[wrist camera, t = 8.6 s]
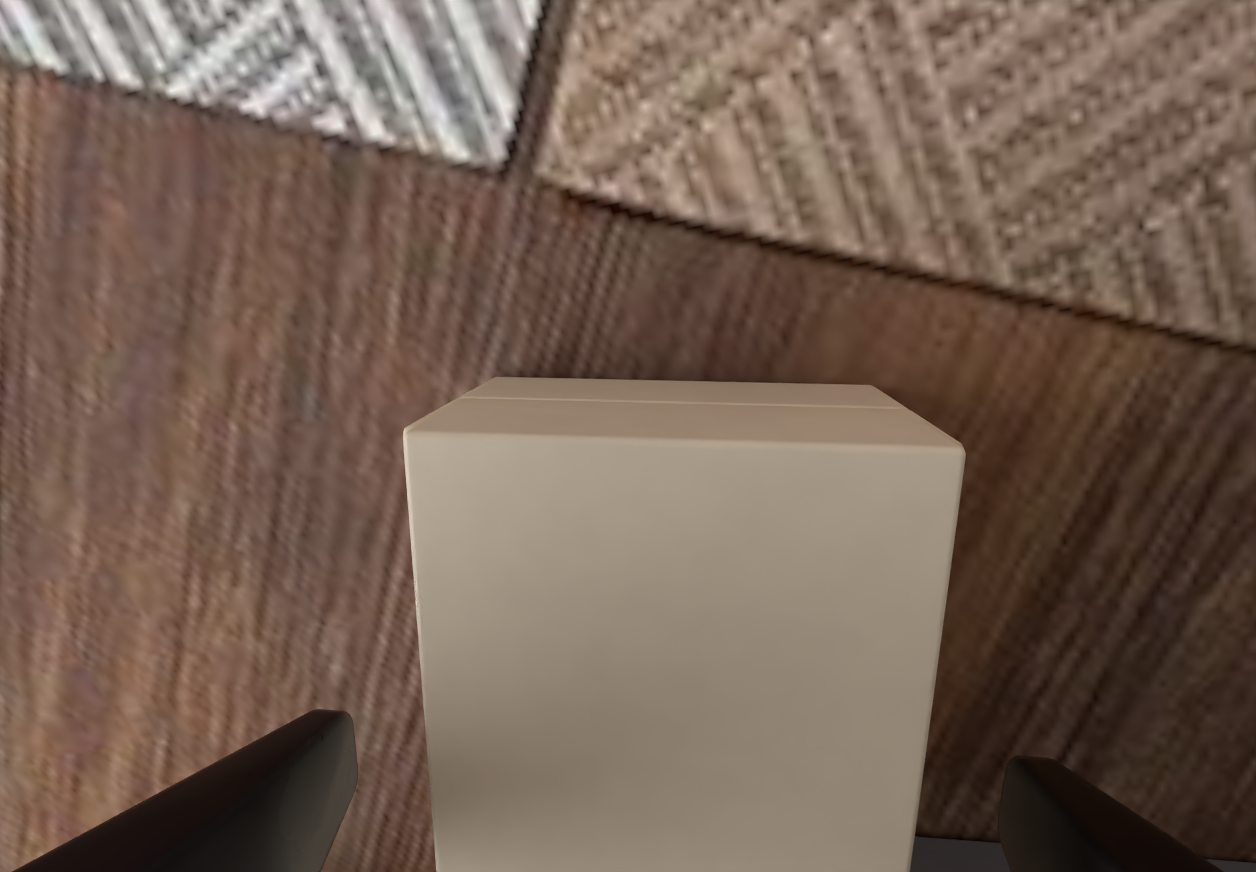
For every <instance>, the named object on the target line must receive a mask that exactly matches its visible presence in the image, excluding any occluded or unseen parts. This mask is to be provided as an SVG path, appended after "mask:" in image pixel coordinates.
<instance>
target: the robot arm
mask: <svg viewBox="0 0 1256 872" xmlns="http://www.w3.org/2000/svg"><path fill="white" fill-rule="evenodd" d="M357 779H358V764H357V754H356V745H355V736H354V726H353V721H352V718H351V716H350V715H349V714H348V713H347V712H345V711H337V710H323V709H317V710H312V711H310V712H308V713H306V714H305V715H303V716H301V717H299V718H297V719H295V720H293V721H292V722H290V723H288V724H286V725H284V726H282V727H280V728H278V729H277V730H275V731H273V732H271V733H269V734H267V735H265V736H264V737H262V738H260V739H258V740H256V741H254V742H252V743H251V744H249V745H247V746H245V747H243V748H241V749H239V750H238V751H236V752H234V753H232V754H230V755H228V756H226V757H225V758H223V759H221V760H219V761H217V762H215V763H213V764H212V765H210V766H208V767H206V768H204V769H202V770H200V771H199V772H197V773H195V774H193V775H191V776H189V777H187V778H186V779H184V780H182V781H180V782H178V783H176V784H174V785H172V786H171V787H169V788H167V789H165V790H163V791H161V792H159V793H158V794H156V795H154V796H152V797H150V798H148V799H146V800H145V801H143V802H141V803H139V804H137V805H135V806H133V807H132V808H130V809H128V810H126V811H124V812H122V813H120V814H119V815H117V816H115V817H113V818H111V819H109V820H107V821H106V822H104V823H102V824H100V825H98V826H96V827H94V828H93V829H91V830H89V831H87V832H85V833H83V834H81V835H80V836H78V837H76V838H74V839H72V840H70V841H68V842H66V843H65V844H63V845H61V846H59V847H57V848H55V849H53V850H52V851H50V852H48V853H46V854H44V855H42V856H40V857H39V858H37V859H35V860H33V861H31V862H29V863H27V864H26V865H24V866H22V867H20V868H18V869H16V870H14V871H13V872H321V870H322V867H323V865H324V863H325V860H326V858H327V856H328V853H329V851H330V849H331V846H332V844H333V841H334V839H335V837H336V834H337V832H338V830H339V827H340V825H341V823H342V820H343V818H344V816H345V813H346V811H347V809H348V806H349V804H350V801H351V799H352V797H353V794H354V792H355V788H356V785H357ZM997 821H998V834H999V838H1000V842H1001V846H1002V849H1003V851H1004V854H1005V857H1006V860H1007V863H1008V866H1009V869H1010V871H1011V872H1224V871H1222V870H1221V869H1219V868H1218V867H1216V866H1215V865H1213V864H1212V863H1210V862H1209V861H1207V860H1206V859H1204V858H1203V857H1201V856H1200V855H1198V854H1197V853H1195V852H1194V851H1192V850H1191V849H1189V848H1188V847H1186V846H1185V845H1183V844H1182V843H1180V842H1179V841H1177V840H1176V839H1174V838H1172V837H1171V836H1169V835H1168V834H1166V833H1165V832H1163V831H1162V830H1160V829H1159V828H1157V827H1156V826H1154V825H1153V824H1151V823H1150V822H1148V821H1147V820H1145V819H1144V818H1142V817H1141V816H1139V815H1138V814H1136V813H1135V812H1133V811H1132V810H1130V809H1129V808H1127V807H1126V806H1124V805H1122V804H1121V803H1119V802H1118V801H1116V800H1115V799H1113V798H1112V797H1110V796H1109V795H1107V794H1106V793H1104V792H1103V791H1101V790H1100V789H1098V788H1097V787H1095V786H1094V785H1092V784H1091V783H1089V782H1088V781H1086V780H1085V779H1083V778H1082V777H1080V776H1079V775H1077V774H1076V773H1074V772H1072V771H1071V770H1069V769H1068V768H1066V767H1065V766H1063V765H1062V764H1060V763H1059V762H1057V761H1055V760H1053V759H1050V758H1044V757H1029V756H1015V757H1013V758H1011V759H1010V760H1009V762H1008V763H1007V767H1006V770H1005V776H1004V782H1003V788H1002V794H1001V800H1000V806H999V812H998V820H997Z"/></svg>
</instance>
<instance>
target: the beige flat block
mask: <svg viewBox="0 0 1256 872" xmlns="http://www.w3.org/2000/svg"><path fill="white" fill-rule="evenodd" d="M403 445H404V458H405V471H406V484H407V497H408V510H409V523H410V536H411V549H412V562H413V575H414V587H415V600H416V613H417V626H418V639H419V652H420V665H421V678H422V691H423V704H424V717H425V730H426V743H427V756H428V768H429V781H430V794H431V807H432V820H433V833H434V846H435V859H436V872H910V867H911V860H912V852H913V845H914V838H915V830H916V823H917V815H918V808H919V800H920V793H921V785H922V778H923V771H924V763H925V756H926V748H927V741H928V733H929V726H930V719H931V711H932V704H933V696H934V689H935V681H936V674H937V666H938V659H939V652H940V644H941V637H942V629H943V622H944V614H945V607H946V599H947V592H948V585H949V577H950V570H951V562H952V555H953V547H954V540H955V532H956V525H957V518H958V510H959V503H960V495H961V488H962V480H963V473H964V465H965V458H966V453H965V450H964V448H963V447H961V446H960V445H958V444H957V443H955V442H954V441H952V440H951V439H949V438H948V437H946V436H945V435H943V434H942V433H940V432H939V431H937V430H936V429H934V428H933V427H931V426H930V425H928V424H927V423H925V422H924V421H921V420H919V419H899V418H860V417H821V416H782V415H743V414H704V413H665V412H626V411H587V410H548V409H509V408H470V407H449V408H446V409H444V410H442V411H441V412H439V413H437V414H436V415H434V416H432V417H430V418H429V419H427V420H425V421H423V422H422V423H420V424H418V425H416V426H415V427H413V428H411V429H410V430H408V431H406V432H405V434H404V437H403Z"/></svg>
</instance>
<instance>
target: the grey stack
mask: <svg viewBox="0 0 1256 872" xmlns="http://www.w3.org/2000/svg"><path fill="white" fill-rule="evenodd" d="M1206 860H1207V861H1209V862H1210V863H1212V864H1213V865H1215V866H1216V867H1218V868H1219V869H1221V870H1222V871H1224V872H1256V863H1251V862H1239V861H1226V860H1213V859H1206ZM910 872H1011V871H1010V869H1009V866H1008V863H1007V860H1006V857H1005V854H1004V851H1003V849H1002V846H1001V843H994V842H981V841H968V840H956V839H943V838H930V837H917V836H915V838H914V845H913V852H912V860H911V867H910Z"/></svg>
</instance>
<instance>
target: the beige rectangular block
mask: <svg viewBox="0 0 1256 872" xmlns="http://www.w3.org/2000/svg"><path fill="white" fill-rule="evenodd" d="M449 407H470V408H509V409H548V410H587V411H626V412H665V413H704V414H743V415H782V416H821V417H860V418H899V419H919V420H921V421H924V422H925V423H927V424H928V425H930V426H931V427H933V428H934V429H936V430H937V431H939V432H940V433H942V434H943V435H945V436H946V437H948V438H949V439H951V440H952V441H954V442H955V443H957V444H958V445H960V446H961V447H963V446H962V444H961V443H960V442H958V441H957V440H955V439H954V438H952V437H951V436H949V435H948V434H946V433H945V432H943V431H942V430H940V429H938V428H937V427H935V426H934V425H932V424H931V423H929V422H928V421H926V420H925V419H923V418H922V417H920V416H919V415H917V414H916V413H914V412H913V411H911V410H908V408H906V407H905V406H903V405H902V404H900V403H898V402H897V401H895V400H894V399H892V398H891V397H889V396H888V395H886V394H885V393H883V392H882V391H880V390H879V389H877V388H876V387H874V386H872V385H846V384H801V383H755V382H710V381H664V380H618V379H573V378H527V377H495V378H493V379H491V380H489V381H487V382H486V383H484V384H482V385H480V386H478V387H477V388H475V389H473V390H471V391H470V392H468V393H466V394H464V395H463V396H461V397H459V398H458V399H455V400H453V401H452V402H450V403H448V404H446V405H444V406H443V407H441V408H439V409H437V410H436V411H434V412H432V413H430V414H428V415H427V416H425V417H423V418H421V419H420V420H418V421H416V422H414V423H412V424H411V425H409V426H407V427H405V429H404V432H403V437H404V434H405V432H406V431H408V430H410V429H411V428H413V427H415V426H416V425H418V424H420V423H422V422H423V421H425V420H427V419H429V418H430V417H432V416H434V415H436V414H437V413H439V412H441V411H442V410H444V409H446V408H449Z"/></svg>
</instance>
